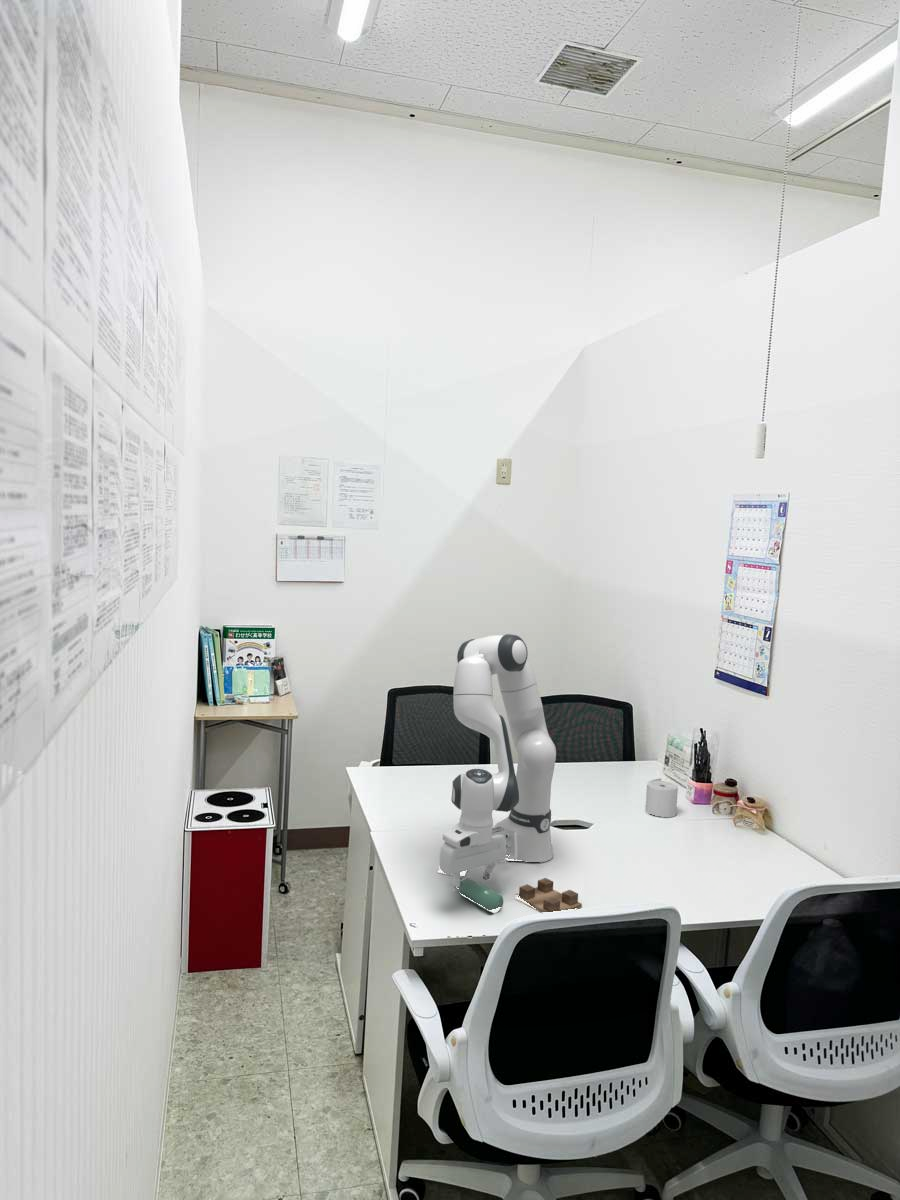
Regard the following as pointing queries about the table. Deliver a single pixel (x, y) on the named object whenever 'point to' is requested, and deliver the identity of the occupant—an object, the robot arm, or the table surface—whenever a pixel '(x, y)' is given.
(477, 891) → the bottle
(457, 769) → the table surface
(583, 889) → the table surface
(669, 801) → the toilet tissue
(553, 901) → the cradle
